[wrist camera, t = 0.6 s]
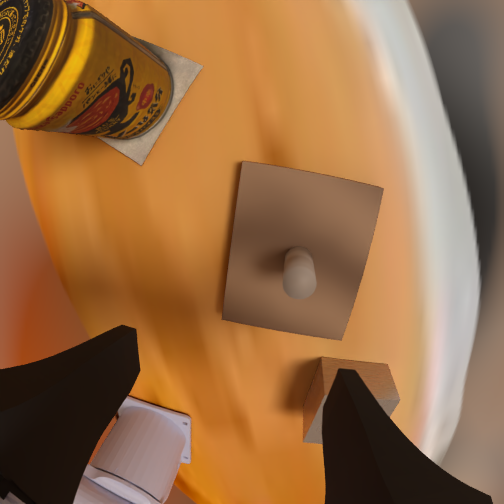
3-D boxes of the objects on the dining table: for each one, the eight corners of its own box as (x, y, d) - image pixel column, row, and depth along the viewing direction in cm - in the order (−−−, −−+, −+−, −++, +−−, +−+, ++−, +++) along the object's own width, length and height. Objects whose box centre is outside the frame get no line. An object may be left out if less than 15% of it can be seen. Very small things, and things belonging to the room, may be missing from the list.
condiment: (143, 165, 17) (-17, 172, 6) (63, 115, 17) (-70, 101, 5) (205, 67, 15) (104, -48, 4) (113, 30, 15) (2, -37, 3)
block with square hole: (363, 410, 21) (369, 445, 18) (303, 405, 22) (302, 442, 18) (387, 364, 20) (400, 399, 16) (321, 356, 20) (324, 394, 16)
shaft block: (339, 332, 19) (348, 374, 15) (225, 312, 20) (207, 350, 16) (378, 186, 16) (405, 196, 12) (245, 160, 17) (229, 161, 12)
